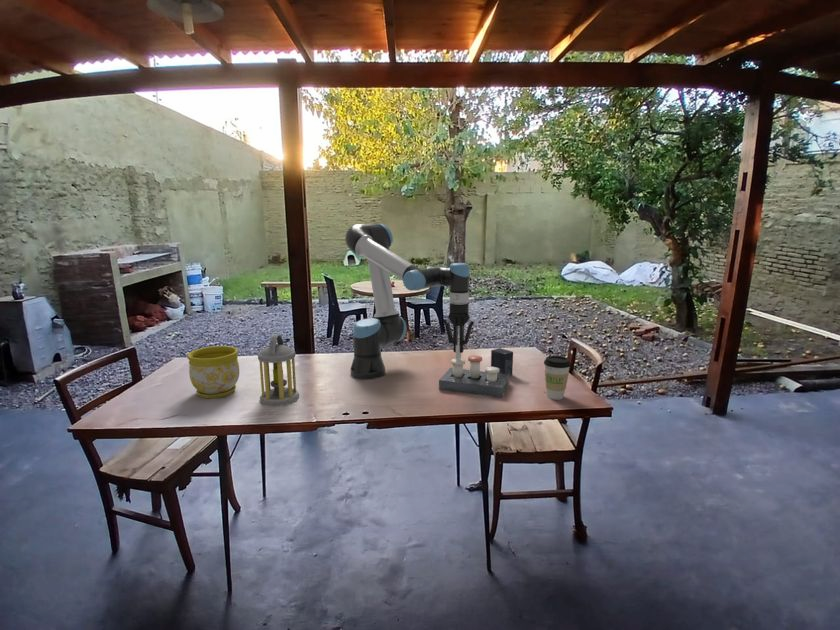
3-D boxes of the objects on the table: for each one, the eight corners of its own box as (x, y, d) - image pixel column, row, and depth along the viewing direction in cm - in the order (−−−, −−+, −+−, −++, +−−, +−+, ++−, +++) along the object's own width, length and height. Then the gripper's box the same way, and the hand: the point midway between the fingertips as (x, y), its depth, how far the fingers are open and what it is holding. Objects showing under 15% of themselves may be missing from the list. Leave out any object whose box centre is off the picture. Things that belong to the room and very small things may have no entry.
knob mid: (466, 378, 189) (466, 358, 187) (469, 373, 194) (470, 355, 192) (480, 379, 187) (480, 360, 185) (483, 375, 192) (483, 356, 190)
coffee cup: (536, 394, 183) (538, 356, 180) (557, 390, 187) (559, 353, 184) (553, 403, 174) (555, 364, 171) (574, 399, 178) (577, 361, 175)
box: (512, 374, 205) (513, 351, 203) (503, 377, 202) (504, 353, 199) (498, 370, 211) (499, 347, 209) (490, 373, 207) (490, 349, 205)
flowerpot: (218, 404, 174) (214, 361, 170) (180, 397, 180) (175, 356, 177) (251, 387, 190) (248, 348, 187) (215, 382, 197) (212, 343, 193)
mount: (438, 389, 188) (439, 380, 187) (450, 376, 203) (450, 367, 202) (501, 397, 180) (502, 387, 179) (508, 383, 194) (509, 374, 194)
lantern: (267, 391, 186) (263, 329, 181) (303, 391, 186) (300, 330, 180) (254, 405, 172) (248, 339, 167) (292, 406, 172) (288, 339, 167)
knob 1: (449, 380, 191) (449, 361, 190) (453, 376, 197) (453, 357, 195) (462, 382, 190) (463, 363, 188) (466, 377, 195) (466, 359, 193)
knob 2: (483, 389, 187) (483, 370, 185) (486, 384, 192) (486, 366, 191) (497, 391, 185) (497, 372, 184) (499, 386, 190) (500, 367, 189)
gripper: (440, 303, 185) (440, 361, 190) (473, 305, 181) (471, 364, 186) (446, 300, 192) (445, 355, 197) (477, 302, 188) (476, 359, 193)
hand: (458, 360), depth 191 cm, fingers closed
